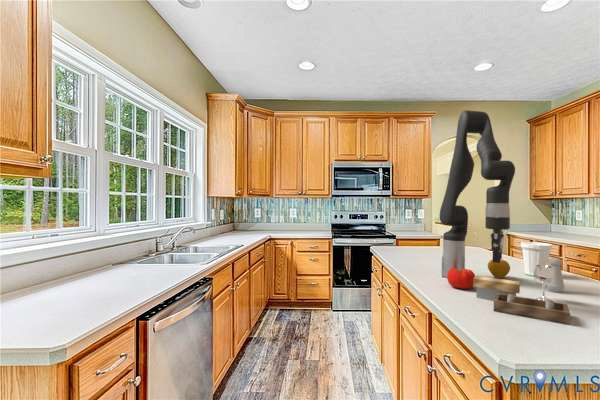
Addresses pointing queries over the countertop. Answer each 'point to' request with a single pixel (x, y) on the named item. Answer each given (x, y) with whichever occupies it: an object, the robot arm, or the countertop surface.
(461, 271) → the tomato
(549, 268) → the wineglass
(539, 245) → the cup
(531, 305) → the peg frame
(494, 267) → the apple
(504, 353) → the countertop surface
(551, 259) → the salt shaker
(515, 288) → the board
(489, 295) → the stand
